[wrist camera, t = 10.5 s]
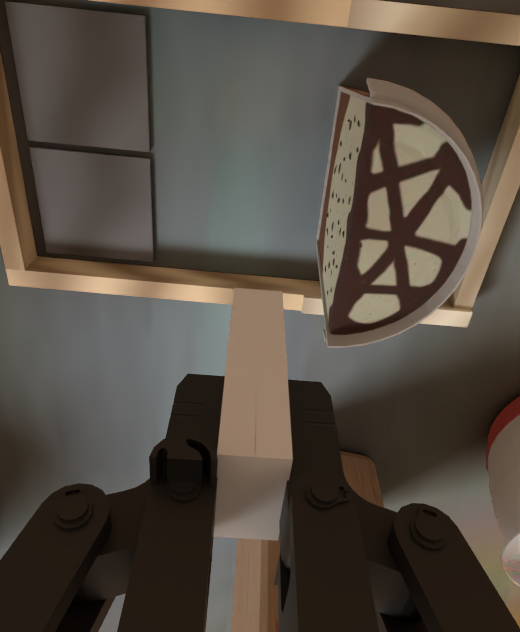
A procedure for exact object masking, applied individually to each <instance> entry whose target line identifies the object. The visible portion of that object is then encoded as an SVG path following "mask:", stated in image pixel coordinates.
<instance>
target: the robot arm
mask: <svg viewBox="0 0 520 632" xmlns="http://www.w3.org/2000/svg"><path fill="white" fill-rule="evenodd" d="M149 463H150V479H148V480H147V481H146V482H145V483H143V484H141V485H139V486H138V487H135V488H132V489H129V490H126V491H122V492H117V493H113V494H108V495H105V493H104V492H103V491H102V490H101V489H99V488H97V487H95V486H93V485H89V484H74V485H69V486H65V487H63V488H61V489H59V490H57V491H56V492H54V493H52V494H51V495H50V496H49V497H48V498H47V499H46V500H45V501H44V502H43V503H42V504H41V505H40V507H39V508H38V510H37V511H36V512H35V514H34V515H33V516H32V518H31V519H30V520H29V522H28V523H27V525H26V526H25V527H24V529H23V530H22V531H21V533H20V534H19V535H18V537H17V538H16V540H15V541H14V542H13V544H12V545H11V546H10V548H9V549H8V551H7V552H6V553H5V555H4V556H3V557H2V559H1V560H0V632H98V631H99V629H100V627H101V625H102V623H103V621H104V619H105V617H106V615H107V613H108V611H109V609H110V607H111V605H112V603H113V601H114V599H115V597H116V596H118V595H122V594H125V593H126V595H125V600H124V604H123V608H122V613H121V617H120V622H119V626H118V630H117V632H205V629H206V618H207V607H208V595H209V584H210V573H211V562H212V547H213V537H225V538H242V539H259V540H276V541H278V537H279V532H280V554H279V560H278V565H277V570H276V575H275V581H274V585H278V618H279V632H520V628H519V626H518V625H517V623H516V621H515V620H514V618H513V616H512V615H511V613H510V612H509V610H508V608H507V607H506V605H505V603H504V602H503V600H502V599H501V597H500V595H499V594H498V592H497V590H496V589H495V587H494V585H493V584H492V582H491V581H490V579H489V577H488V576H487V574H486V572H485V571H484V569H483V568H482V566H481V564H480V563H479V561H478V559H477V558H476V556H475V555H474V553H473V551H472V550H471V548H470V546H469V545H468V543H467V542H466V540H465V538H464V537H463V535H462V533H461V532H460V530H459V529H458V527H457V526H456V525H455V523H454V522H453V521H452V520H451V519H450V517H449V516H447V515H446V514H444V513H443V512H442V511H440V510H439V509H437V508H435V507H432V506H429V505H426V504H417V503H411V504H409V505H406V506H404V507H401V509H400V510H399V511H398V512H394V511H392V510H389V509H386V508H383V507H380V506H378V505H375V504H373V503H371V502H368V501H366V500H365V499H363V498H362V497H360V496H359V495H358V494H357V493H356V492H355V491H354V490H353V489H352V488H351V486H350V485H349V484H348V482H347V481H346V478H345V475H344V472H343V466H342V460H341V454H340V448H339V442H338V436H337V430H336V427H335V418H334V414H333V406H332V400H331V396H330V394H329V393H328V391H327V390H326V389H325V387H324V386H323V384H322V383H321V382H311V381H297V380H288V373H287V357H286V341H285V325H284V309H283V293H282V291H269V290H257V289H245V288H234V292H233V302H232V312H231V321H230V331H229V341H228V351H227V361H226V371H225V376H212V375H198V374H187V375H186V377H185V378H184V379H183V380H182V381H181V382H180V384H179V385H178V386H177V389H176V394H175V398H174V404H173V407H172V412H171V417H170V421H169V425H168V430H167V434H166V439H163V440H162V441H161V442H160V443H158V444H157V445H156V446H155V447H154V449H153V451H152V452H151V454H150V456H149Z"/></svg>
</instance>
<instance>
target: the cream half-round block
mask: <svg viewBox="0 0 520 632" xmlns="http://www.w3.org/2000/svg"><path fill="white" fill-rule="evenodd" d="M367 85H368V88H369V92H370V93H367V92H364V91H361V90H359V89H356V88H352V87H345V86H339V87H338V94H337V101H336V108H335V115H334V121H333V128H332V135H331V142H330V148H329V155H328V162H327V169H326V176H325V182H324V189H323V196H322V203H321V209H320V216H319V223H318V230H317V237H316V250H317V259H318V268H319V277H320V286H321V295H322V304H323V313H324V322H325V330H323V336H324V339H325V343H326V344H327V347H328V348H346V347H354V346H363V345H367V344H371V343H375V342H379V341H382V340H385V339H388V338H390V337H393V336H396V335H398V334H400V333H402V332H404V331H406V330H408V329H410V328H412V327H414V326H415V325H417V324H418V323H420V322H421V321H423V320H424V319H425V318H427V317H428V316H430V315H431V314H432V313H433V312H434V311H436V310H437V309H438V308H439V307H440V306H441V305H442V304H443V303H444V302H445V301H446V300H447V299H448V298H449V297H450V295H451V294H452V293H453V292H454V291H455V289H456V288H457V287H458V286H459V284H460V282H461V281H462V279H463V278H464V276H465V274H466V273H467V271H468V269H469V267H470V265H471V262H472V260H473V258H474V255H475V253H476V250H477V246H478V242H479V238H480V234H481V230H482V224H483V213H484V201H483V190H482V184H481V180H480V177H479V173H478V170H477V166H476V163H475V160H474V157H473V154H472V152H471V150H470V148H469V146H468V144H467V142H466V140H465V138H464V136H463V134H462V133H461V131H460V130H459V129H458V127H457V126H456V125H455V124H454V122H453V121H452V120H451V118H450V117H449V116H448V115H447V114H446V113H445V112H443V111H442V110H441V109H440V108H439V107H438V106H437V105H435V104H434V103H433V102H432V101H430V100H429V99H427V98H425V97H424V96H422V95H420V94H418V93H417V92H415V91H413V90H411V89H409V88H406V87H403V86H400V85H398V84H395V83H392V82H389V81H384V80H378V79H372V78H367Z"/></svg>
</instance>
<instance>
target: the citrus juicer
mask: <svg viewBox="0 0 520 632" xmlns="http://www.w3.org/2000/svg"><path fill="white" fill-rule="evenodd" d="M486 468H487V471H488V474H489V487H490V494H491V498H492V503H493V508H494V512H495V516H496V519H497V522H498V524H499V527H500V530H501V533H502V536H503V539H504V542H505V547H504V549H503V551H502V554H501V562H502V565H503V568H504V570H505V572H506V574H507V575H508V577H509V578H510V579H511V580H512V581H513V582H514V583H515V584H517V585H518V586H520V396H519V397H518V398H516V399H515V400H514V401H512V402H511V403H510V404H509V405H507V406H506V407H505V408H504V409H503V410H502V411H501V413H500V414H499V415H498V416H497V417H496V419H495V421H494V422H493V424H492V426H491V428H490V431H489V435H488V440H487V462H486Z"/></svg>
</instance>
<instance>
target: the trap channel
mask: <svg viewBox="0 0 520 632" xmlns="http://www.w3.org/2000/svg"><path fill="white" fill-rule="evenodd" d="M90 1H100V2H110V3H119V4H129V5H138V6H148V7H157V8H167V9H176V10H186V11H196V12H205V13H215V14H224V15H234V16H243V17H253V18H262V19H272V20H281V21H291V22H301V23H310V24H320V25H329V26H339V27H347V28H354V29H364V30H374V31H383V32H393V33H402V34H412V35H421V36H431V37H440V38H450V39H460V40H469V41H479V42H488V43H498V44H507V45H517V46H520V15H512V14H503V13H493V12H484V11H474V10H465V9H456V8H446V7H437V6H428V5H418V4H409V3H399V2H390V1H381V0H90ZM5 7H6V13H7V19H8V25H9V31H10V37H11V43H12V49H13V55H14V61H15V67H16V73H17V79H18V85H19V91H20V97H21V103H22V109H23V115H24V121H25V126H26V132H27V138H28V140H29V141H39V142H50V143H60V144H71V145H81V146H91V147H102V148H112V149H123V150H133V151H144V152H150V151H151V149H150V119H149V89H148V59H147V29H146V16H145V15H135V14H126V13H116V12H106V11H97V10H87V9H78V8H68V7H58V6H49V5H39V4H30V3H20V2H10V1H5ZM29 150H30V156H31V162H32V168H33V174H34V180H35V186H36V192H37V198H38V204H39V210H40V216H41V222H42V228H43V234H44V240H45V246H46V252H47V253H56V254H68V255H79V256H90V257H101V258H112V259H124V260H135V261H146V262H154V239H153V209H152V179H151V157H140V156H130V155H119V154H109V153H98V152H88V151H77V150H67V149H56V148H46V147H36V146H30V147H29ZM519 186H520V74H519V77H518V80H517V83H516V86H515V89H514V92H513V95H512V98H511V101H510V103H509V106H508V109H507V112H506V115H505V118H504V121H503V124H502V127H501V130H500V132H499V135H498V138H497V141H496V144H495V147H494V150H493V153H492V156H491V159H490V161H489V164H488V167H487V170H486V173H485V176H484V179H483V182H482V190H483V201H484V213H483V224H482V230H481V234H480V238H479V242H478V246H477V250H476V253H475V255H474V258H473V260H472V262H471V265H470V267H469V269H468V271H467V273H466V274H465V276H464V278H463V279H462V281H461V282H460V284H459V286H458V287H457V288H456V289H455V291H454V292H453V293H452V294H451V295H450V297H449V298H448V299H447V300H446V301H445V302H444V303H443V304H442V305H441V306H440V307H439V308H438V309H437V310H436V311H434V312H433V313H432V314H431V315H430V316H428V317H427V318H425V319H424V320H423V321H421V322H420V323H421V324H433V325H444V326H456V327H467V326H468V323H469V321H470V318H471V316H472V313H473V312H472V310H471V309H472V307H473V304H474V302H475V299H476V297H477V294H478V291H479V289H480V286H481V284H482V281H483V279H484V276H485V273H486V271H487V268H488V266H489V263H490V260H491V258H492V255H493V253H494V250H495V248H496V245H497V242H498V240H499V237H500V235H501V232H502V230H503V227H504V224H505V222H506V219H507V217H508V214H509V212H510V209H511V206H512V204H513V201H514V199H515V196H516V194H517V191H518V188H519ZM0 246H1V250H2V255H3V259H4V264H5V268H6V273H7V277H8V282H9V285H12V286H24V287H35V288H47V289H58V290H70V291H81V292H93V293H104V294H116V295H127V296H139V297H150V298H162V299H173V300H185V301H196V302H208V303H219V304H231V305H232V302H233V292H234V288H245V289H257V290H269V291H282V293H283V309H288V310H300V311H301V313H306V314H317V315H324V313H323V304H322V295H321V286H320V281H310V280H299V279H288V278H276V277H265V276H254V275H243V274H231V273H220V272H209V271H197V270H186V269H175V268H164V267H152V266H141V265H130V264H119V263H107V262H96V261H85V260H74V259H62V258H51V257H40V256H37V252H36V246H35V241H34V235H33V229H32V224H31V218H30V213H29V207H28V202H27V196H26V190H25V185H24V179H23V174H22V168H21V163H20V157H19V151H18V146H17V140H16V135H15V129H14V124H13V118H12V112H11V107H10V101H9V96H8V90H7V84H6V79H5V73H4V68H3V62H2V57H1V51H0Z"/></svg>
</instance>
